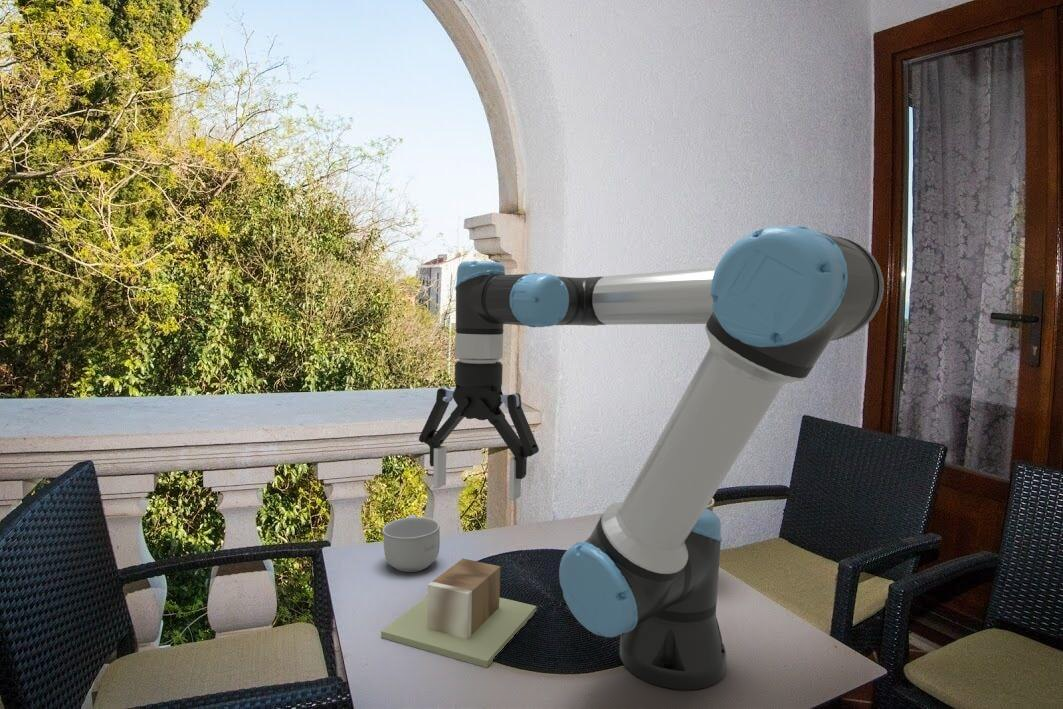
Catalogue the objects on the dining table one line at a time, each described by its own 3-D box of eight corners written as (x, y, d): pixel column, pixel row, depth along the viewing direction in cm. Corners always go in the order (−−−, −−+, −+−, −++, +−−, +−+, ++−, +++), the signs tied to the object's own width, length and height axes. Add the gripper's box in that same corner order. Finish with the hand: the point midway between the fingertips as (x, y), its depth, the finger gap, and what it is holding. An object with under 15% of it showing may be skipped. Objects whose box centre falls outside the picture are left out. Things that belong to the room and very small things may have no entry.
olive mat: (536, 611, 106) (536, 606, 106) (487, 667, 90) (487, 661, 90) (442, 589, 113) (442, 583, 113) (381, 637, 97) (381, 631, 97)
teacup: (434, 579, 117) (434, 536, 117) (375, 576, 118) (375, 534, 117) (445, 549, 131) (446, 511, 131) (393, 547, 132) (393, 509, 131)
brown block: (500, 566, 105) (468, 594, 95) (499, 607, 105) (467, 639, 95) (462, 558, 108) (427, 584, 97) (461, 598, 108) (426, 628, 98)
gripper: (561, 363, 99) (557, 496, 101) (424, 354, 109) (422, 476, 111) (543, 367, 93) (539, 510, 94) (398, 357, 102) (397, 487, 104)
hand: (476, 492), depth 103 cm, fingers open, 13 cm apart
